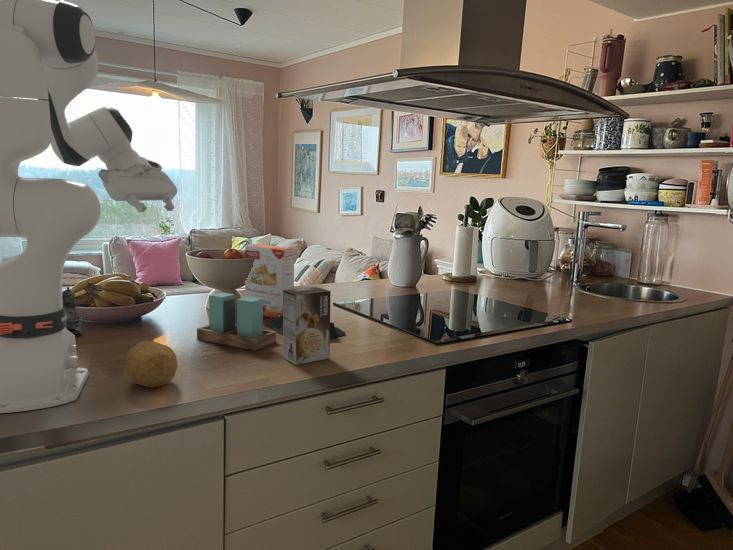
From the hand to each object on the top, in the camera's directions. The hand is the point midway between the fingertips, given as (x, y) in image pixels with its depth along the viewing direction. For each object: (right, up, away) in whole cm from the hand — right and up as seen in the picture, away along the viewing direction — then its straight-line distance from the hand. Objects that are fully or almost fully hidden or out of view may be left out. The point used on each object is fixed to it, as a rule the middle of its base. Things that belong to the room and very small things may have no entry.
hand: (157, 210), depth 144 cm
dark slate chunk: (+37, -33, +7) cm, 50 cm away
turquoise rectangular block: (+25, -33, -6) cm, 42 cm away
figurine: (-21, -32, -3) cm, 38 cm away
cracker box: (+25, -29, +23) cm, 45 cm away
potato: (+12, -39, -35) cm, 54 cm away
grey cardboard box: (+40, -36, -16) cm, 57 cm away
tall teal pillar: (+17, -32, -3) cm, 36 cm away
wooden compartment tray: (+22, -33, -4) cm, 40 cm away
